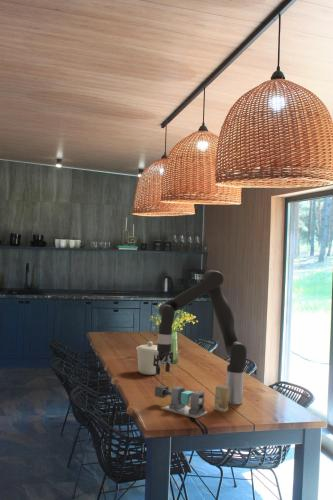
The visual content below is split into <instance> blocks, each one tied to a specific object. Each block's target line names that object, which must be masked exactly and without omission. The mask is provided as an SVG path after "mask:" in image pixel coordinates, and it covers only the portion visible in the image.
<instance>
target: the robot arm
mask: <svg viewBox="0 0 333 500" xmlns="http://www.w3.org/2000/svg"><path fill="white" fill-rule="evenodd" d="M202 278H203V280H202V281H201V282H199V283H198V284H196V285H194V286H192V287H190V288H188V289H186V290H184V291H182V292H181V293H179V294H178V295H176V296H175V297H174V298H172V299H170V300H168V301H166V302H164V303H162V305H160V306H159V308H158V314H159V316H160V317H161V319H160V323H159V325H158V336H157V343H156V345H157V351H158V352H159V353H158V355H154V363H153V366H156V374H155V375H158V376H159V375H160V374H161V366H162V364H163V363H165V369H164V370H165V372H166V373H169V372H170V370H171V369H170V368H171V365H172V364H173V363H174V352H173V351H172V344H173V343H172V341H173V336H172V334H173V325H174V320H175V313H176V312H177V311H178V310H181V309H182V310H183V308H186V306H188V305H190V304H191V303H193V302H194V301H196V300H197V299H199V297H201V296H203V295H204V294H207V293H208V295H209V297H210V300H211V301H210V302H211V304H212V307H213V311H214V314H215V318H216V321H217V323H218V328H219V330H220V332H221V335H222V338H223V343H224V348H225V351H226V354H227V356H229V357H230V359H229V364H228V365H227V366H226V382H225V386H226V387H230V390H229V402H228V405H241V404H242V403H243V394H244V393H243V392H244V375H245V374H244V372H245V368H246V363H247V362H246V361H247V347H246V346H245V344H243V343H241V342H240V341H239V339H238V337H237V335H236V332H235V318H234V317H235V316H234V313H233V311H232V308H231V305H230V303H229V302H228V300H227V298H226V297H225V295H224V294H223V291H222V288H221V285H223V282H224V274H223V273H221V272H220V271H217V270H214V269H209V270H206V271H205V272H204V274H203V277H202ZM159 360H160V361H159ZM156 362H157V363H156ZM155 363H156V364H155ZM158 364H159V365H158Z"/></svg>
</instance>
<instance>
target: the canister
mask: <svg viewBox="0 0 333 500" xmlns="http://www.w3.org/2000/svg"><path fill="white" fill-rule="evenodd" d="M153 343H154V342H153V341H150V340H149V341H147V344H141V345H138V346H136V348H135V349H136V354H137V368H138V372H139V373H140V374H141V375H147V376H153V375H157V374H156V366H153V363H154V355H158V353H159V352H158V351H157V344H156V345H155V344H153ZM159 361H160V360H159ZM156 363H157V362H156ZM156 363H155V364H156ZM158 365H159V364H158Z"/></svg>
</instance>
